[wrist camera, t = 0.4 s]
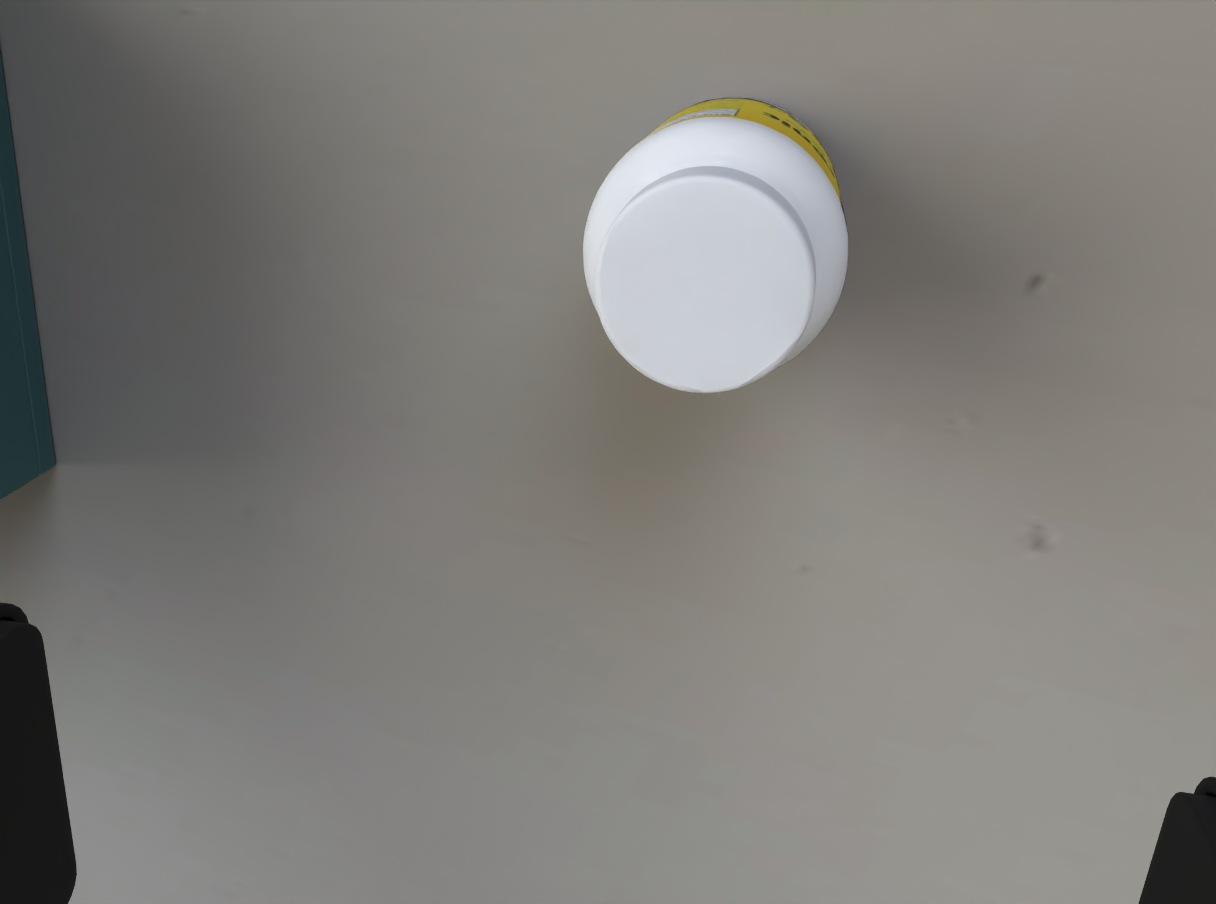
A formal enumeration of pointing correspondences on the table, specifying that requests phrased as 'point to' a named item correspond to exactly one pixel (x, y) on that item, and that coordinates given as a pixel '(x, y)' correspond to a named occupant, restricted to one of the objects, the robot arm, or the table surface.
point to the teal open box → (18, 337)
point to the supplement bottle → (717, 246)
